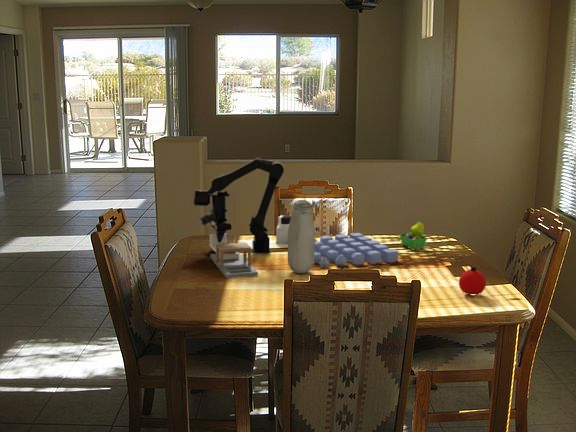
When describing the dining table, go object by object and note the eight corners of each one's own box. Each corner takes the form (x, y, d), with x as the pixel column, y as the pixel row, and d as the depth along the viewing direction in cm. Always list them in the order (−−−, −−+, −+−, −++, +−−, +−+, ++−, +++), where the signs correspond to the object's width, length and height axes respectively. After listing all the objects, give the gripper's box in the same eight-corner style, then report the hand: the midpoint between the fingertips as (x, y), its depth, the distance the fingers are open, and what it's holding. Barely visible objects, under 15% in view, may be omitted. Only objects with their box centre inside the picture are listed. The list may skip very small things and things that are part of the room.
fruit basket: (398, 245, 297) (399, 220, 295) (414, 243, 301) (415, 219, 298) (413, 251, 287) (414, 226, 285) (429, 249, 291) (431, 224, 288)
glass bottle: (311, 277, 248) (313, 203, 242) (285, 275, 250) (285, 202, 244) (315, 269, 258) (317, 198, 252) (290, 267, 260) (291, 197, 254)
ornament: (464, 289, 236) (466, 262, 234) (489, 294, 230) (491, 267, 228) (453, 295, 229) (455, 267, 227) (478, 301, 223) (480, 272, 221)
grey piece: (238, 255, 276) (238, 235, 275) (257, 275, 249) (257, 254, 247) (210, 257, 273) (210, 237, 271) (226, 278, 245) (226, 256, 243)
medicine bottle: (293, 240, 304) (293, 214, 302) (291, 243, 297) (292, 217, 295) (277, 239, 305) (278, 214, 303) (276, 243, 298) (276, 217, 296)
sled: (225, 244, 288) (225, 233, 287) (239, 258, 265) (239, 246, 264) (209, 245, 285) (209, 234, 284) (222, 259, 263) (221, 247, 262)
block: (232, 252, 271) (232, 242, 270) (235, 255, 266) (235, 245, 265) (220, 253, 269) (220, 243, 268) (223, 256, 265) (223, 246, 264)
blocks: (398, 263, 270) (398, 251, 269) (320, 270, 258) (321, 258, 257) (358, 243, 302) (359, 232, 301) (288, 249, 290) (288, 238, 289)
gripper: (196, 203, 286) (196, 238, 289) (204, 211, 269) (205, 248, 272) (221, 202, 289) (221, 236, 293) (231, 210, 272) (231, 247, 275)
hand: (219, 242), depth 283 cm, fingers closed
